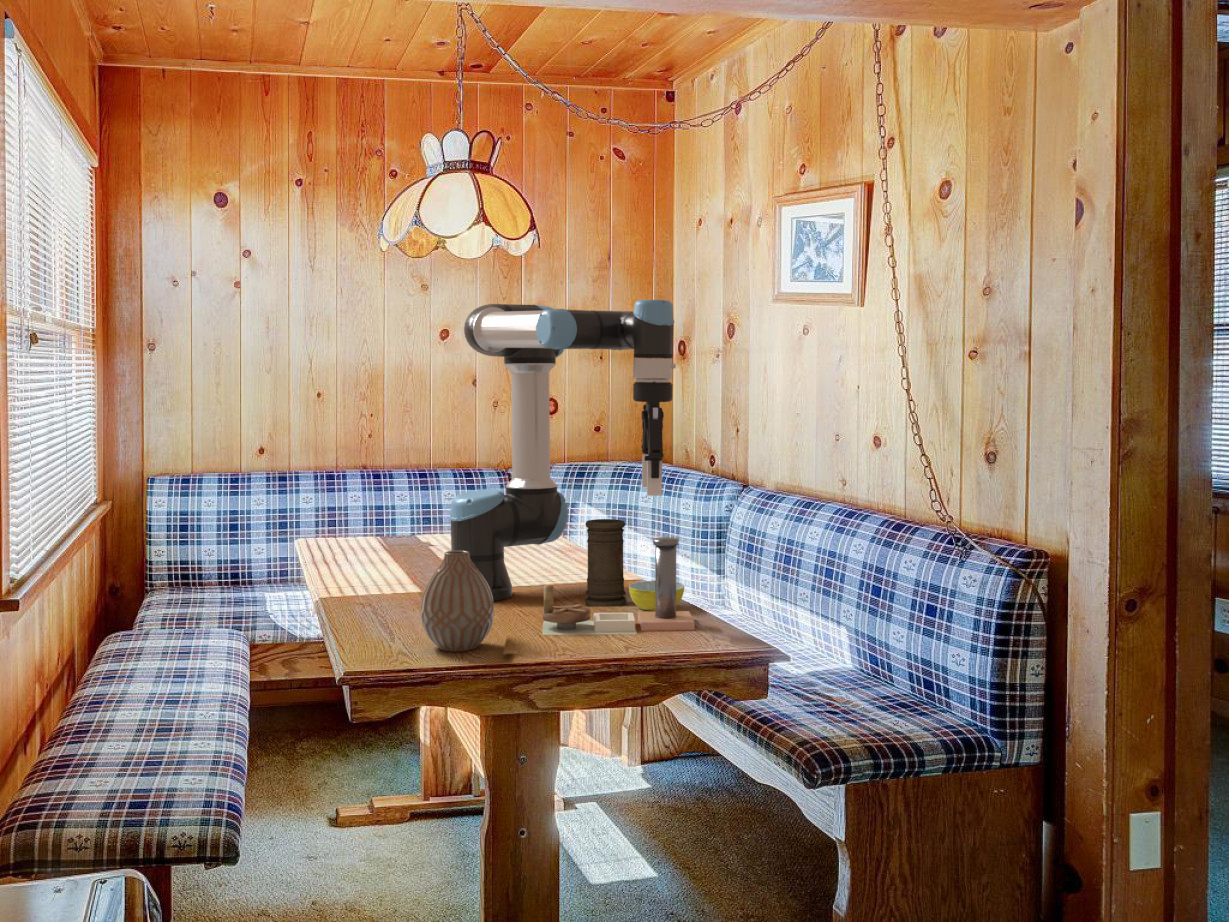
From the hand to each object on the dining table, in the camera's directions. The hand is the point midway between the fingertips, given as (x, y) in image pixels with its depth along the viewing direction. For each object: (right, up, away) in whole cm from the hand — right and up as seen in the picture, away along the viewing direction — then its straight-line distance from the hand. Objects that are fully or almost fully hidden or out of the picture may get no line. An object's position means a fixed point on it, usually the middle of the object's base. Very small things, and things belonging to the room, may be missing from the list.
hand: (651, 491), depth 230 cm
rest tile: (+3, -27, -1) cm, 27 cm away
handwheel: (-16, -24, -4) cm, 29 cm away
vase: (-35, -28, -14) cm, 47 cm away
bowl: (+1, -26, +15) cm, 30 cm away
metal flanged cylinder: (+3, -24, -2) cm, 24 cm away
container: (-9, -25, +26) cm, 37 cm away
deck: (-12, -27, -4) cm, 30 cm away
